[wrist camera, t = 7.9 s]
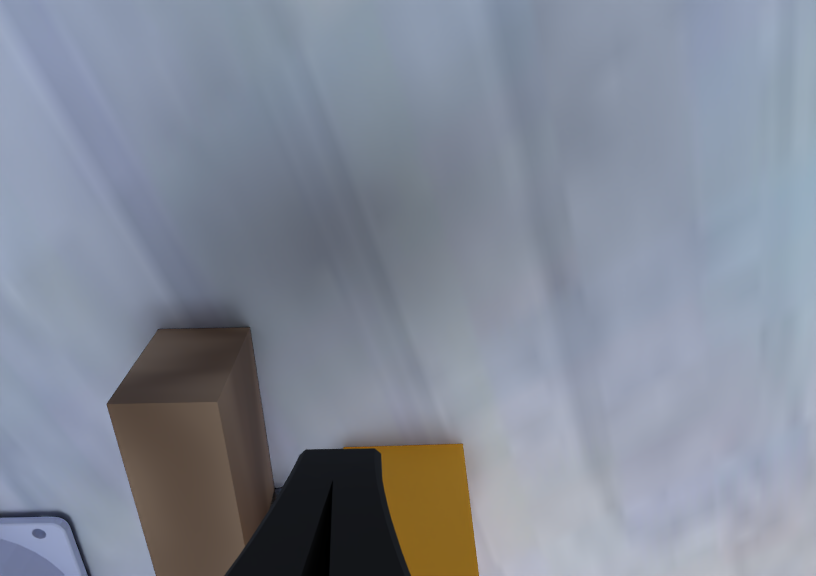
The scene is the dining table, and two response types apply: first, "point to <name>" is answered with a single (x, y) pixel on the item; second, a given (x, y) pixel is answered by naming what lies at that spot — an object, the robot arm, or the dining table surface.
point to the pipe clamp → (430, 507)
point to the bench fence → (195, 448)
